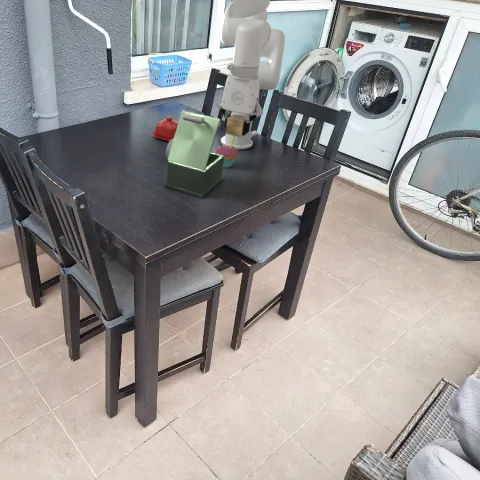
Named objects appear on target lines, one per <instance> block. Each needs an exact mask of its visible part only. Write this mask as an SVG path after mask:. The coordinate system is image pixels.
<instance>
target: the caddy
mask: <svg viewBox="0 0 480 480" xmlns="http://www.w3.org/2000/svg"><path fill="white" fill-rule="evenodd" d="M223 162H224V156H223V155H219V154H216V153H215V152H212V151H211V153H210V156H209V160H208V163H207V166H206V169H205V171H204V170H201V169H197V168H193V167H190V166H186V165H183V164H179V163H176V162H172V161H168V160H167V173H166V174H167V175H166V188H169V189H172V190H175V191H179V192H182V193H186V194H188V195H192V196H194V197H197V198H203V197H204V196H205V195H207V194H208V193H209V192H210V191H211V190H212V189H214V187H215V186H217V185H218V184H219V183H220V182H221V181H222V179H223V178H222V177H223V169H224V167H223Z"/></svg>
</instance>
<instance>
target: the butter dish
mask: <svg viewBox="0 0 480 480" xmlns="http://www.w3.org/2000/svg"><path fill="white" fill-rule="evenodd" d="M178 123H179V121H177V120H175V119H173V117H172V116H170V115H169V116H166V117H165V119H162V120H160V121H159V122H157V124H156V125H155V129H154V131H153V132H151V133H150V136H151V137H154V138H157V139H159V140H163V141H167V142H170V141H171V140H172V139H174V136H175V133H176V130H177V126H178Z"/></svg>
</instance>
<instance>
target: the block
mask: <svg viewBox="0 0 480 480" xmlns="http://www.w3.org/2000/svg"><path fill="white" fill-rule="evenodd" d="M244 123H245V116H243V115H238V114H233V115H231V116H230V117H228V119H227V126H226V132H225V135H226V134H229V135H233V136H238V137H242V136H243V135H242V132H243V126H244Z"/></svg>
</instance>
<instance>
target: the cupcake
mask: <svg viewBox="0 0 480 480" xmlns="http://www.w3.org/2000/svg"><path fill="white" fill-rule="evenodd" d="M234 138H235V136H233V138H232V141H231V145H219V146H218V147H216V148H215V150H214V153H216V154H219V155H223V156H224V162H223V168H231V167H232V166H233V164H234V162H235V160H236V159H238V158H239V155H240V151H239V149H236V148H235V147H233V146H232V145H233V141H234Z"/></svg>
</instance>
